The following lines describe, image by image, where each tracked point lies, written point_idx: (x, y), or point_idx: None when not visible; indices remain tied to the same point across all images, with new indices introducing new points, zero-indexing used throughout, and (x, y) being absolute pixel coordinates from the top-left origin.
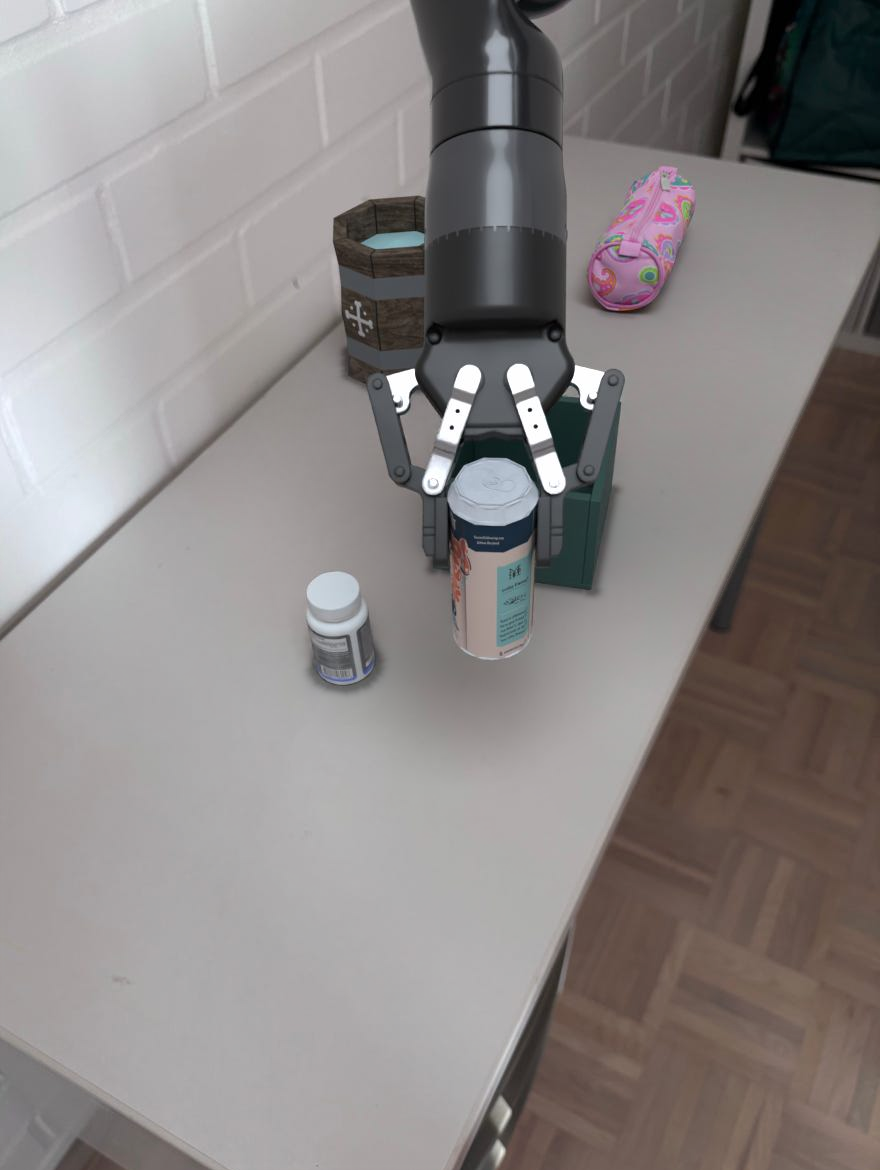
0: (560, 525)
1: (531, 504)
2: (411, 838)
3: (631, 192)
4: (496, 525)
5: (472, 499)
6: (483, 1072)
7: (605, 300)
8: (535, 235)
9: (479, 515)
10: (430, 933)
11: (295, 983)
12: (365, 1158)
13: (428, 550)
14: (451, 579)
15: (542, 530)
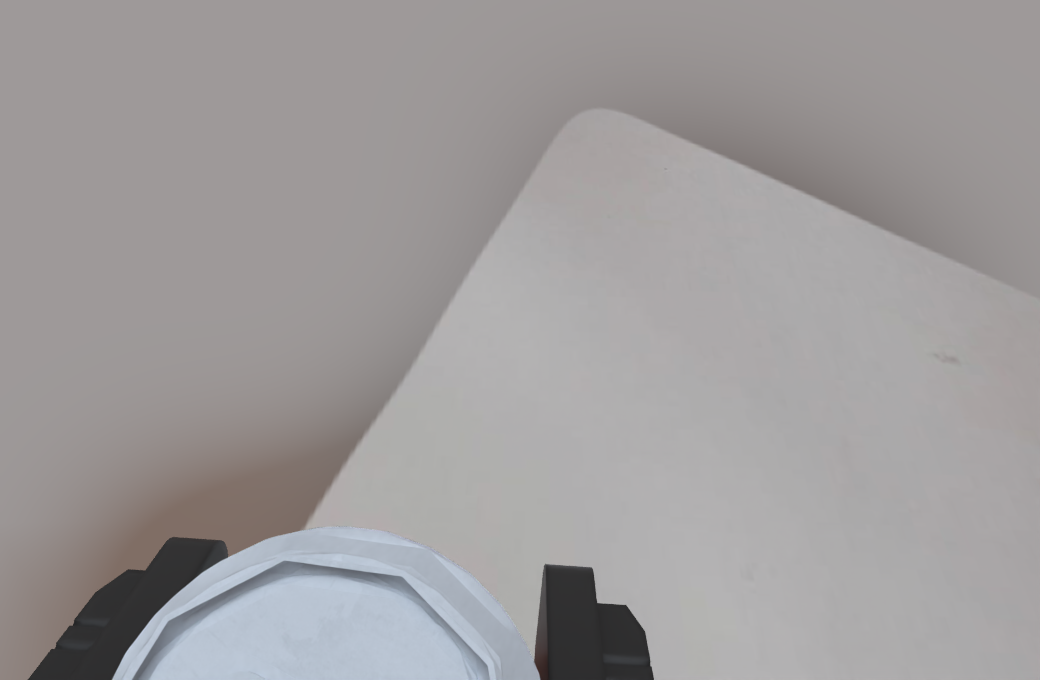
0: (61, 654)
1: (141, 647)
2: (581, 558)
3: None
4: (337, 528)
5: (430, 630)
6: (490, 243)
7: None
8: None
9: (406, 557)
10: (551, 404)
11: (722, 346)
12: (617, 172)
13: (619, 616)
14: None
15: (147, 616)
